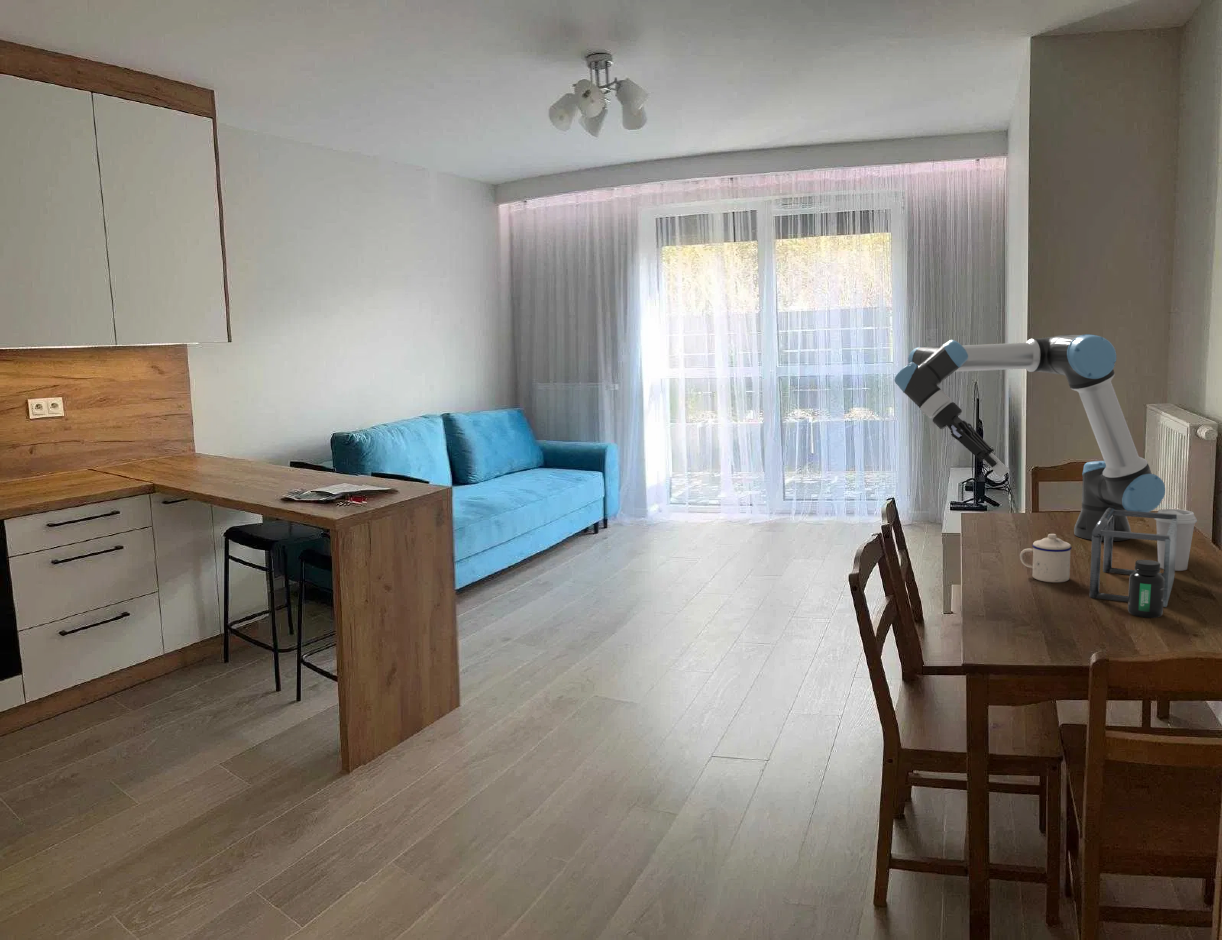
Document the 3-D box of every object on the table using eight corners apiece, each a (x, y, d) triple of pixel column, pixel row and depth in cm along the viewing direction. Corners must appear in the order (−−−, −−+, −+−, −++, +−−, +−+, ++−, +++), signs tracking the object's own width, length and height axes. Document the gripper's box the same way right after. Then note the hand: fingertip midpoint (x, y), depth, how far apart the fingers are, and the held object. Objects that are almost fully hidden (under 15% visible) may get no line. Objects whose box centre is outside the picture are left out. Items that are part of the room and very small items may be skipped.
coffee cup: (1194, 573, 233) (1197, 517, 230) (1151, 569, 238) (1154, 514, 235) (1193, 564, 241) (1197, 509, 238) (1152, 561, 246) (1154, 507, 243)
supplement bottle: (1148, 620, 200) (1151, 567, 198) (1120, 612, 206) (1123, 561, 205) (1169, 615, 203) (1172, 563, 201) (1141, 607, 209) (1143, 556, 207)
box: (1103, 570, 239) (1106, 507, 237) (1174, 577, 230) (1178, 512, 228) (1088, 597, 218) (1091, 528, 215) (1166, 607, 208) (1170, 535, 206)
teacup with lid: (1072, 575, 236) (1073, 532, 234) (1068, 584, 228) (1070, 539, 226) (1022, 570, 242) (1023, 528, 240) (1016, 579, 235) (1018, 535, 233)
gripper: (938, 417, 255) (999, 479, 248) (924, 422, 244) (988, 487, 237) (958, 398, 251) (1021, 461, 244) (945, 403, 240) (1010, 468, 233)
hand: (1005, 473), depth 241 cm, fingers closed
